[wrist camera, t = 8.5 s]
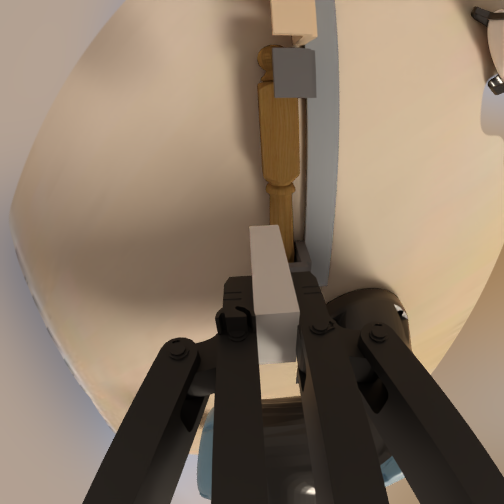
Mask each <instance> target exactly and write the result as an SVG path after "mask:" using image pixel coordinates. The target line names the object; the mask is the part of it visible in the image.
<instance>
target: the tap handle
mask: <svg viewBox="0 0 504 504" xmlns="http://www.w3.org/2000/svg"><path fill="white" fill-rule="evenodd" d="M272 48H284V47H283V46H280V45H269V46H266V47H264V48H263V49H261V50H260V52H259V54H258V57H257V59H258V64H259V65H260V67H261V68H262V69H263V70H265V71H266V73H265V75H264V76H263V77H262V78H261V81H263V82H262V83H259V84H258V86H257V89H258V105H259V121H260V137H261V155H262V171H263V177H264V178H265V179H266V181H268V182H269V183H268V184H267V186H266V192H267V193H269V194H270V225H278V226H279V229H280V233H281V237H282V241H283V245H284V249H285V253H286V257H287V261H288V263H294V240H293V213H292V193H293V192H294V191H295V187H294V185H293V183H292V182H293V181H294V180H295V178H297V177H298V176H299V174H300V158H299V114H298V98H274V86H273V65H272Z"/></svg>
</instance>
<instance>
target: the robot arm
mask: <svg viewBox="0 0 504 504" xmlns="http://www.w3.org/2000/svg"><path fill="white" fill-rule="evenodd" d="M249 231H250V249H251V266H252V276H240V277H229V279H228V280H227V281H226V283H225V284H224V296H223V308H221V309H220V310H219V311H218V312H217V314H216V317H215V321H216V326H217V331H218V333H217V334H216V335H215V336H214V337H212V338H211V339H209V340H206V341H203V342H199V343H194V342H193V341H192V340H190V339H188V338H175V339H171V340H170V341H168V342H166V343H165V344H164V345H163V347H162V348H161V349H160V351H159V353H158V355H157V357H156V359H155V361H154V362H153V364H152V366H151V368H150V370H149V372H148V374H147V375H146V377H145V379H144V381H143V383H142V385H141V387H140V389H139V390H138V392H137V394H136V396H135V398H134V400H133V402H132V404H131V406H130V408H129V410H128V412H127V413H126V415H125V417H124V419H123V421H122V423H121V425H120V427H119V429H118V431H117V433H116V435H115V437H114V439H113V441H112V443H111V445H110V447H109V449H108V451H107V453H106V455H105V457H104V459H103V461H102V463H101V465H100V468H99V470H98V472H97V474H96V476H95V478H94V480H93V482H92V484H91V486H90V489H89V491H88V493H87V495H86V497H85V499H84V501H83V503H82V504H170V503H171V500H172V497H173V494H174V492H175V489H176V486H177V484H178V481H179V478H180V476H181V473H182V470H183V467H184V465H185V461H186V459H187V457H188V454H189V451H190V448H191V446H192V443H193V440H194V437H195V435H196V432H197V429H198V426H199V424H200V421H201V418H202V415H203V413H204V410H205V407H206V404H207V401H208V399H209V396H210V394H213V393H215V401H214V407H213V408H212V409H211V410H210V412H209V413H208V415H207V418H206V420H205V423H204V427H203V431H202V435H201V440H200V446H199V454H198V464H197V485H198V490H199V492H200V495H201V496H202V497H204V498H206V499H210V500H211V504H389V501H388V496H387V492H386V488H385V487H386V486H388V485H391V484H393V483H395V482H397V481H399V480H401V479H403V478H406V480H407V481H408V483H409V485H410V487H411V488H412V490H413V492H414V493H415V495H416V497H417V499H418V500H419V502H420V504H504V477H503V476H502V474H501V473H500V471H499V469H498V468H497V466H496V465H495V463H494V462H493V460H492V459H491V458H490V456H489V454H488V453H487V451H486V450H485V448H484V447H483V445H482V444H481V442H480V441H479V440H478V439H477V437H476V435H475V434H474V433H473V431H472V430H471V429H470V427H469V425H468V424H467V423H466V421H465V420H464V419H463V417H462V416H461V415H460V413H459V412H458V410H457V409H456V408H455V407H454V405H453V404H452V403H451V401H450V400H449V399H448V397H447V396H446V395H445V393H444V392H443V391H442V389H441V388H440V387H439V385H438V384H437V383H436V382H435V380H434V379H433V378H432V376H431V375H430V374H429V373H428V371H427V370H426V369H425V368H424V366H423V365H422V364H421V363H420V361H419V360H418V359H417V358H416V357H415V355H414V354H413V352H412V349H411V340H410V331H409V323H408V317H407V313H406V311H405V309H404V307H403V305H402V304H401V302H400V300H399V299H398V298H397V296H395V295H394V294H393V293H391V292H389V291H386V290H382V289H374V288H372V289H361V290H357V291H353V292H350V293H347V294H345V295H342V296H340V297H338V298H336V299H334V300H333V301H331V302H330V303H328V304H327V305H326V304H325V301H324V298H323V295H322V293H321V290H320V287H319V284H318V281H317V278H316V277H315V276H314V275H313V274H312V273H311V272H310V271H305V272H290V269H289V265H288V261H287V257H286V253H285V249H284V245H283V241H282V237H281V233H280V229H279V226H278V225H263V226H249ZM296 356H297V362H298V369H297V377H296V384H297V383H299V387H300V394H301V396H294V397H285V398H274V399H261V388H260V373H259V364H273V363H285V362H296Z"/></svg>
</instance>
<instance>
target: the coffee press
mask: <svg viewBox="0 0 504 504" xmlns="http://www.w3.org/2000/svg"><path fill="white" fill-rule="evenodd" d="M471 16H472V17H473V18H474V19H475V20H477V21H478V22H480V23H482V24H483V25H485V26H486V27H487V28H488V30H487V35H488V44H489V49H490V53H491V57H492V60H493V63H494V65H495V68H496V70H497V72H498V75H497V76H496V77H494V78H493V79H491V80H490V81H489V82H488V86H489V88H490V89H491V91H492V92H493V93H494V94H495V95H499V94H501V93H504V9H500V10H497V11H495V12H494V13H493V12H489V11H486V10H484V9H481V8H479V7H474V8H473V10H472V12H471ZM488 19H489V20H488Z"/></svg>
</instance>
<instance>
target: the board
mask: <svg viewBox="0 0 504 504" xmlns="http://www.w3.org/2000/svg"><path fill="white" fill-rule="evenodd" d="M270 7H271V22H272V35H292V42H293V45H302V46H304V48H272V65H273V86H274V98H306V203H305V232H304V241H295V257H294V263H288V265H289V269H290V272H305V271H310V272H311V273H312V274H313V275H314V276H315V277H316V278H317V281H318V284H319V286H327V284H328V276H329V267H330V259H331V250H332V240H333V229H334V218H335V205H336V191H337V174H338V151H339V59H338V38H337V23H336V10H335V0H270Z"/></svg>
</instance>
